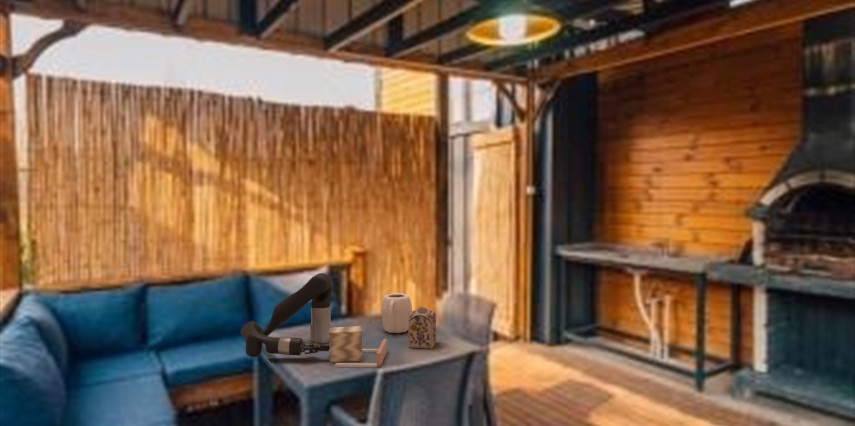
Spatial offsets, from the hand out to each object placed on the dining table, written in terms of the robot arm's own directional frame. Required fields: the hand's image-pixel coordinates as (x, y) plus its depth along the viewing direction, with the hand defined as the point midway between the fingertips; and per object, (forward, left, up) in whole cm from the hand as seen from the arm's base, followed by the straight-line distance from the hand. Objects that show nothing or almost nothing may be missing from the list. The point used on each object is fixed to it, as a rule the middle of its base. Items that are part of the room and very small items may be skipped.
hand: (329, 348), depth 270 cm
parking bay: (+14, +2, -5) cm, 15 cm away
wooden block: (+7, +3, -5) cm, 9 cm away
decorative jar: (+39, +25, -5) cm, 47 cm away
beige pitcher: (+24, +52, -5) cm, 58 cm away
